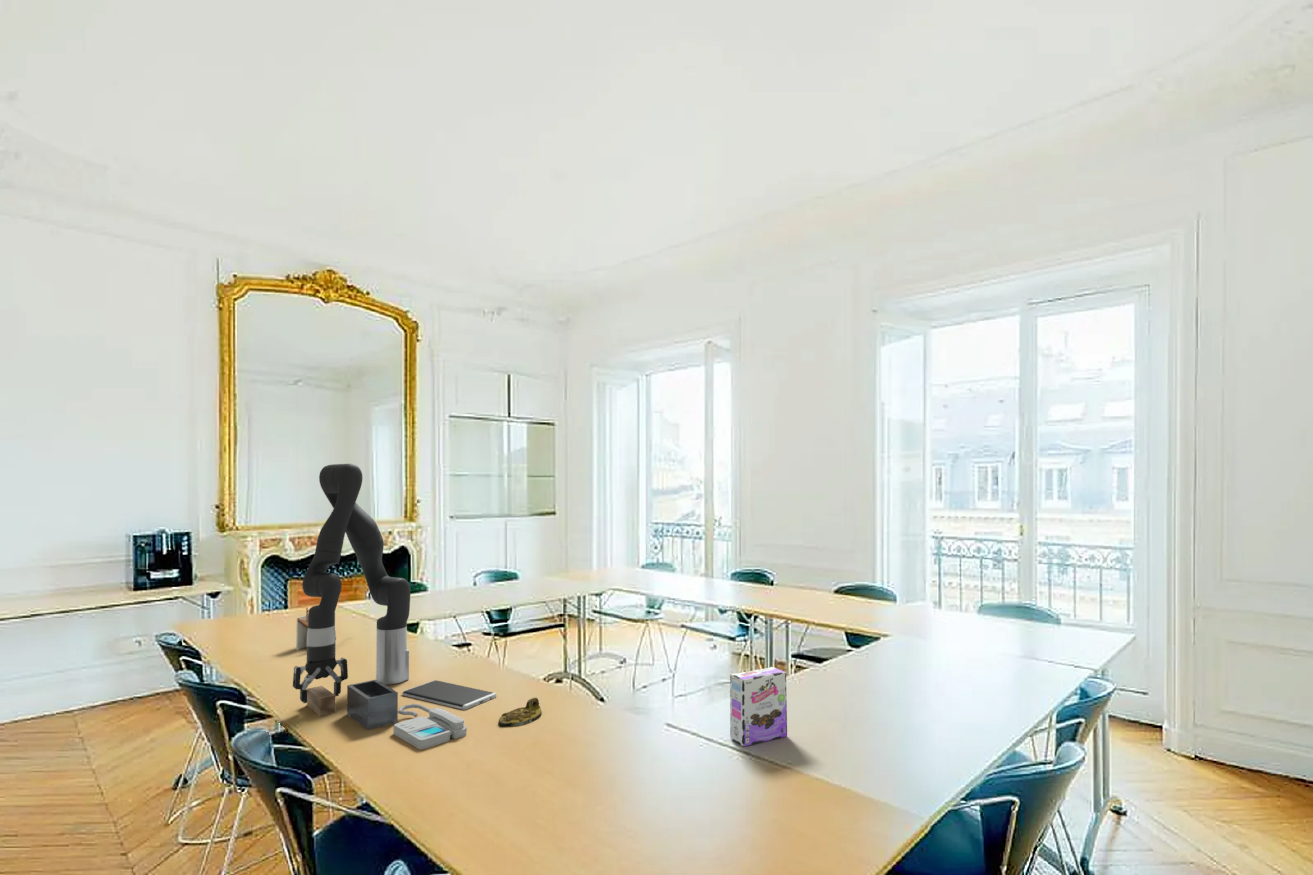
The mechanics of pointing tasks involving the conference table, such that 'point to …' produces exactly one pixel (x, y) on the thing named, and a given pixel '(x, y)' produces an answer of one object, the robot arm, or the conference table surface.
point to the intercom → (429, 727)
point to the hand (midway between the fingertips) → (320, 699)
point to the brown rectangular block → (321, 700)
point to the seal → (522, 714)
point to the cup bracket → (372, 704)
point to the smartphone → (449, 694)
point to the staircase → (302, 631)
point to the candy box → (758, 706)
